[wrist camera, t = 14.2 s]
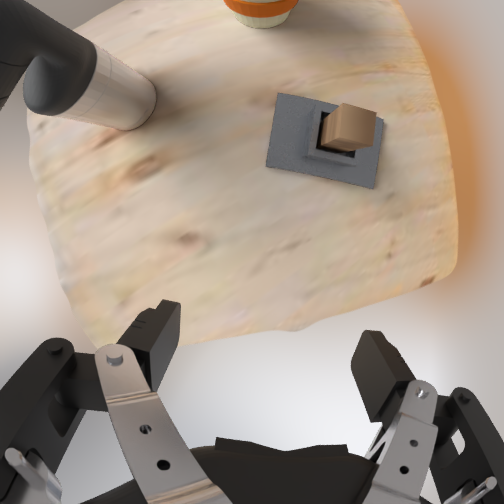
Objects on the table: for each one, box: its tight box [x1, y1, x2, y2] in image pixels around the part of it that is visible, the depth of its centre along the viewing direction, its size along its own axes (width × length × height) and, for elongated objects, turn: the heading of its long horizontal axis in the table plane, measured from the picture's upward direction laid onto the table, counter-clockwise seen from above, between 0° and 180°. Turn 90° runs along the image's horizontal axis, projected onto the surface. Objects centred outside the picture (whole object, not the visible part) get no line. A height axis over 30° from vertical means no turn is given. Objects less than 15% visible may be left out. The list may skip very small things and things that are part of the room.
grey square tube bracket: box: [266, 93, 384, 189], centre depth 33 cm, size 16×11×6 cm
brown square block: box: [316, 103, 376, 153], centre depth 28 cm, size 4×4×12 cm
